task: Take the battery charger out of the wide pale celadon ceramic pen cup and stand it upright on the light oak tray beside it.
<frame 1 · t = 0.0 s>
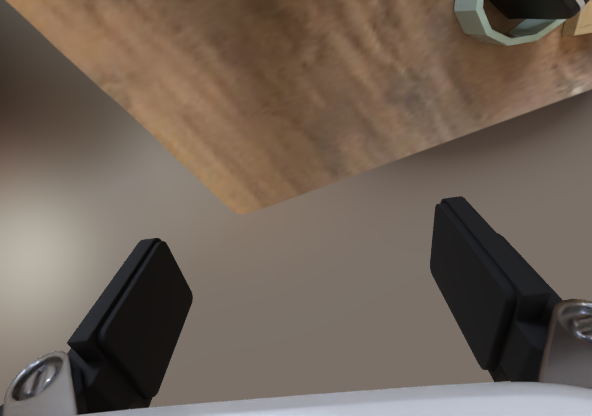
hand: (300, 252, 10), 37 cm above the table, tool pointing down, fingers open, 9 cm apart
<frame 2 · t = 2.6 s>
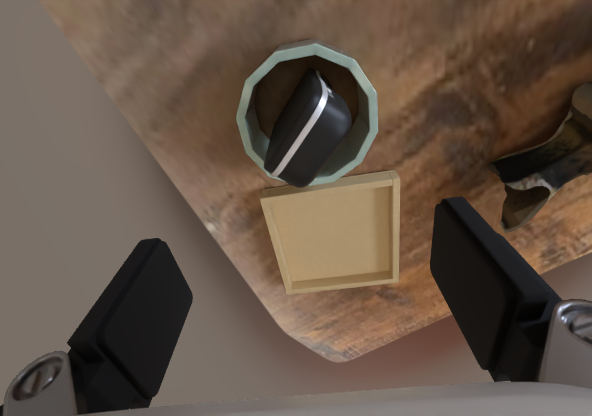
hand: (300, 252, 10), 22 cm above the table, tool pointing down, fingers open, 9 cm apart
sculpture: (576, 111, 29), on the table
pen cup: (306, 107, 29), on the table
battery charger: (306, 106, 29), resting in pen cup
tray: (334, 233, 38), on the table
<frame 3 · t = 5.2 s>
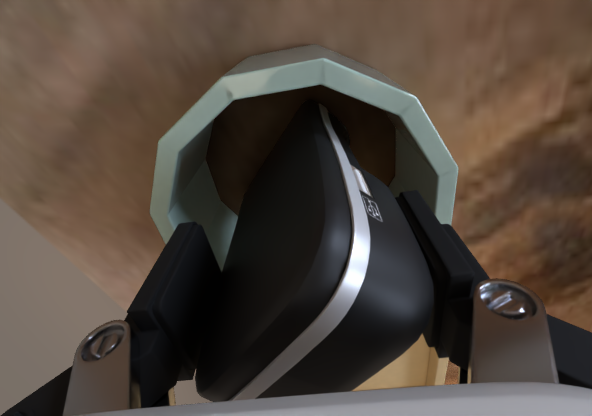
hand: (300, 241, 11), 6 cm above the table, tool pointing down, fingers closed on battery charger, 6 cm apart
pen cup: (301, 166, 16), on the table
battery charger: (301, 165, 16), resting in pen cup, touching gripper
tray: (344, 340, 25), on the table
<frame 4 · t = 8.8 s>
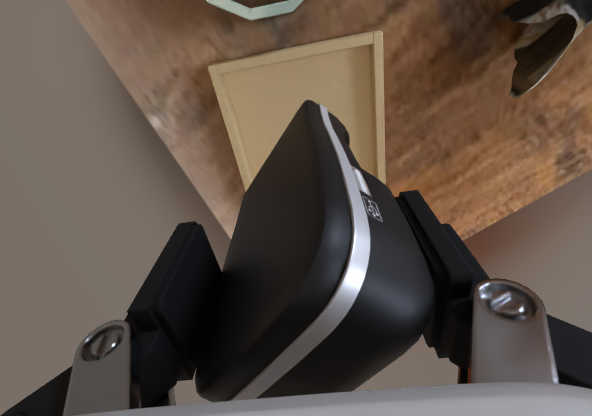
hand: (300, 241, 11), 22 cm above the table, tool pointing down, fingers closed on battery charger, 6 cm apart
battery charger: (301, 165, 16), point 15 cm above the table, touching gripper
tray: (306, 130, 31), on the table
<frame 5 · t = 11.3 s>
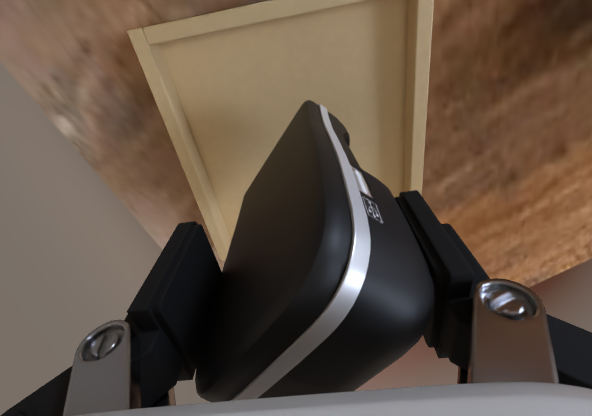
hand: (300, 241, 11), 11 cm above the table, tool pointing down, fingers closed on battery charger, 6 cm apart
battery charger: (301, 165, 16), point 4 cm above the table, touching gripper
tray: (299, 140, 20), on the table
when the fingers open (7 cm above the table, at t = 12.8 s): battery charger stays where it is, resting on tray.
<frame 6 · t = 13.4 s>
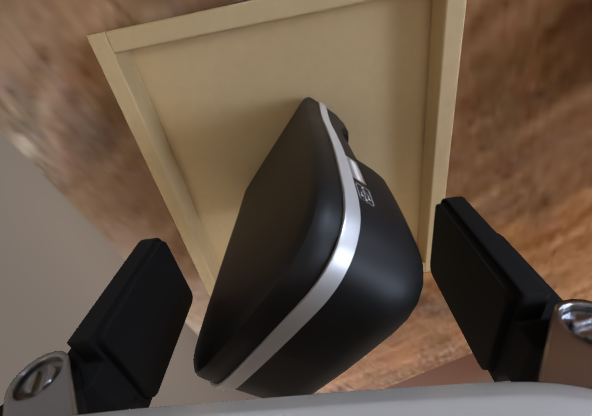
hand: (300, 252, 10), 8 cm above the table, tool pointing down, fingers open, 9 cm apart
battery charger: (301, 162, 17), resting on tray
tray: (299, 162, 17), on the table
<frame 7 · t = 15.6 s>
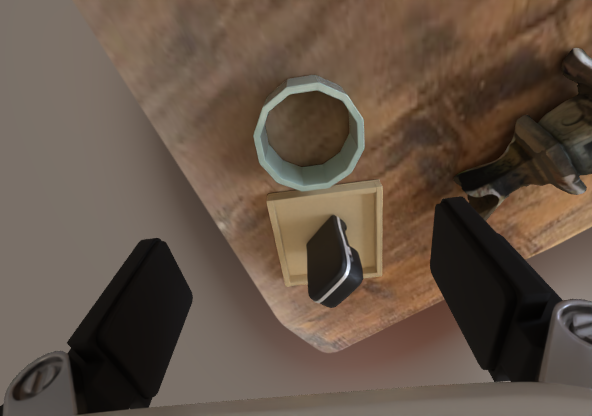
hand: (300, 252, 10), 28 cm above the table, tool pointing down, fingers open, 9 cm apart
sculpture: (521, 136, 37), on the table
pen cup: (307, 127, 36), on the table
battery charger: (328, 233, 44), resting on tray
tray: (327, 233, 44), on the table
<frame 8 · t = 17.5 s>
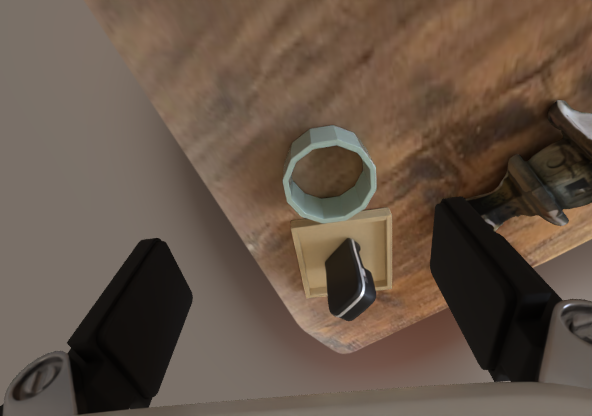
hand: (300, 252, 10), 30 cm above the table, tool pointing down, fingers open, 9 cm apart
sculpture: (514, 170, 42), on the table
pen cup: (326, 166, 42), on the table
battery charger: (344, 253, 50), resting on tray
tray: (343, 252, 50), on the table
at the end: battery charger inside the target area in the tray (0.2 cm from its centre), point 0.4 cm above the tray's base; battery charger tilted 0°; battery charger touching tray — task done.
